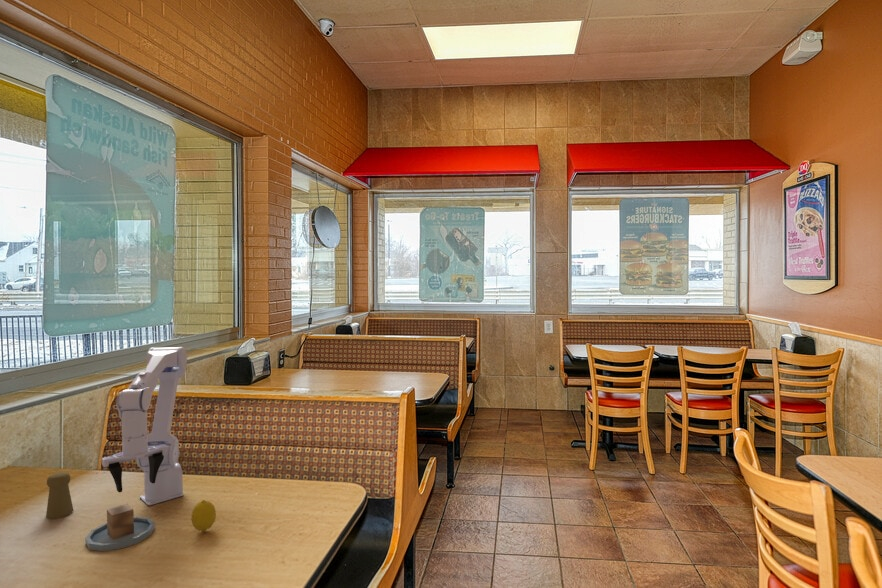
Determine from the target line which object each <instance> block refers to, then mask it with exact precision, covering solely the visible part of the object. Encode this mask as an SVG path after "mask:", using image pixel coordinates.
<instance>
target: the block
mask: <svg viewBox="0 0 882 588" xmlns="http://www.w3.org/2000/svg"><path fill="white" fill-rule="evenodd" d="M134 515H135V514H134V508H133V507H132V506H131V505H130V504H129V503H125V504H122V505H118V506H114V507H111V508H108V509H106V523H107V533H108V535H109V536H110V537H111V538H112V540H114V539H117V538H120V537H123V536H126V535H129V534H132V533H134V517H135V516H134Z"/></svg>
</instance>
